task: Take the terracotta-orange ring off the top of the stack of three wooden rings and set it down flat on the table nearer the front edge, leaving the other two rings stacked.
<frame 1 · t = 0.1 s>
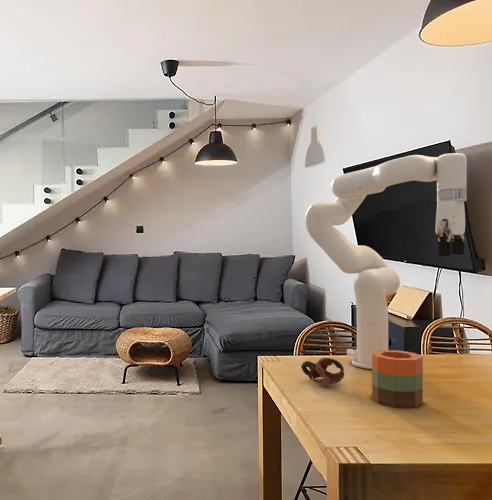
hand: (451, 255, 156), 37 cm above the table, tool pointing down, fingers open, 9 cm apart
ring top: (396, 370, 138), point 8 cm above the table, touching ring middle
brown knot: (322, 383, 156), on the table
ring middle: (396, 385, 138), point 4 cm above the table, touching ring bottom, ring top
ring bottom: (396, 400, 138), on the table, touching ring middle
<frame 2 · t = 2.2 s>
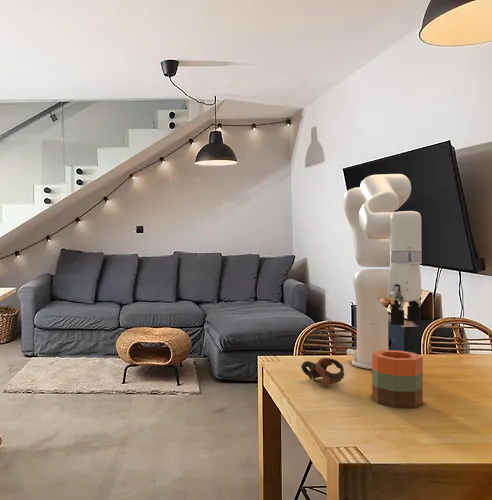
hand: (405, 323, 141), 20 cm above the table, tool pointing down, fingers open, 9 cm apart
nothing on the table moved.
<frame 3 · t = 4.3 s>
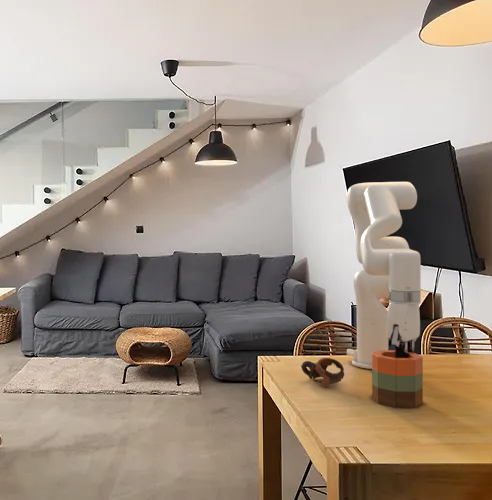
hand: (404, 365, 141), 8 cm above the table, tool pointing down, fingers closed on ring top, 2 cm apart
ring top: (396, 370, 138), point 8 cm above the table, touching gripper
ring middle: (396, 385, 138), point 4 cm above the table, touching ring bottom
everything else where it was.
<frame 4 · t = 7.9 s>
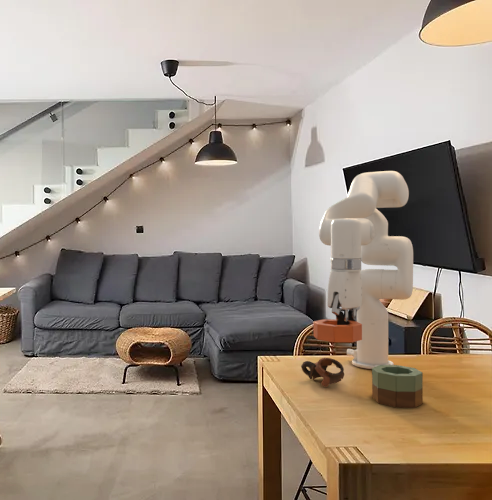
hand: (346, 334, 141), 17 cm above the table, tool pointing down, fingers closed on ring top
ring top: (337, 338, 138), point 17 cm above the table, touching gripper
everything else where it was.
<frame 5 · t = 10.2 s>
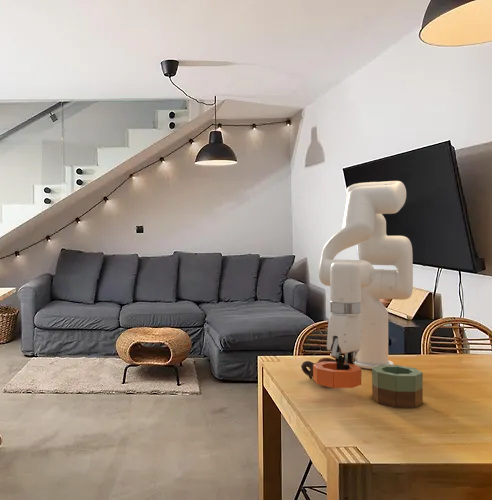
hand: (345, 377, 141), 6 cm above the table, tool pointing down, fingers closed on ring top, 2 cm apart
ring top: (336, 381, 138), point 5 cm above the table, touching gripper
everything else where it was.
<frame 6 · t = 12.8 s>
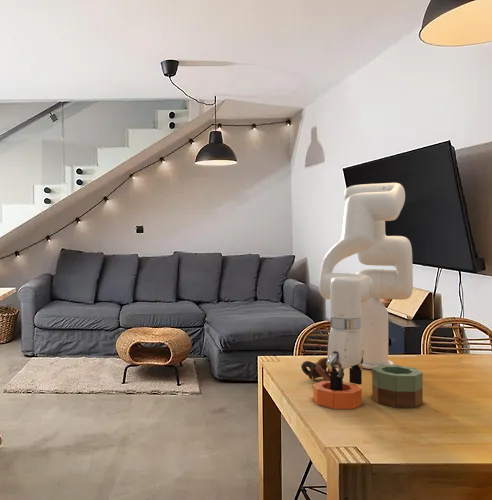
hand: (346, 387, 142), 3 cm above the table, tool pointing down, fingers open, 9 cm apart
ring top: (337, 401, 138), on the table
everything else where it was.
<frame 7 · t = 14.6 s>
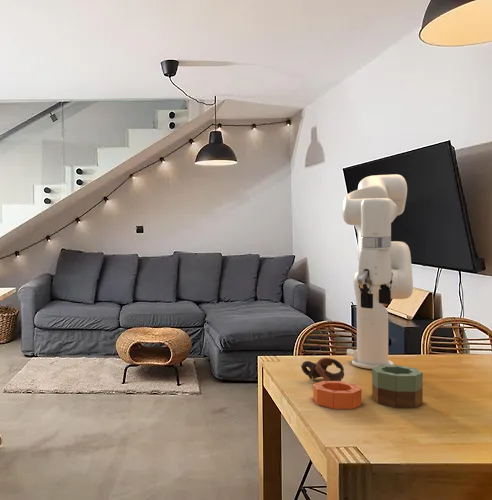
hand: (375, 305, 147), 24 cm above the table, tool pointing down, fingers open, 9 cm apart
nothing on the table moved.
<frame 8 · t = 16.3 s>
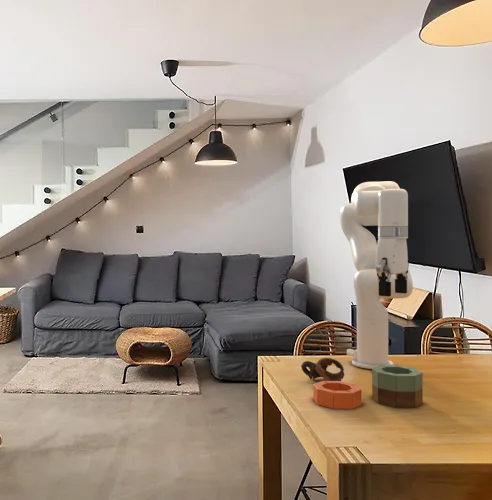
hand: (393, 294, 149), 26 cm above the table, tool pointing down, fingers open, 9 cm apart
nothing on the table moved.
at the end: ring top inside the target area (0.1 cm from its centre), on the table; ring top tilted 0°; ring middle 0.0 cm from the target spot, point 4.0 cm above the table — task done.
